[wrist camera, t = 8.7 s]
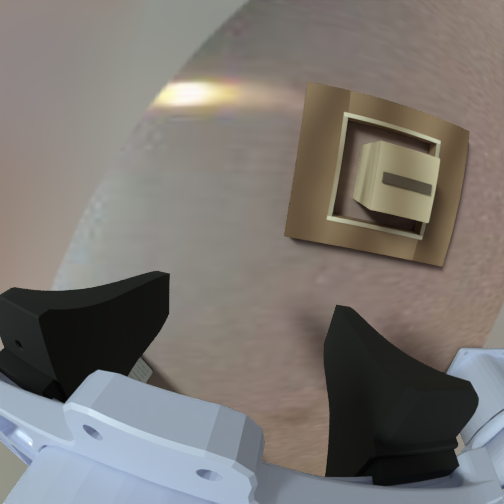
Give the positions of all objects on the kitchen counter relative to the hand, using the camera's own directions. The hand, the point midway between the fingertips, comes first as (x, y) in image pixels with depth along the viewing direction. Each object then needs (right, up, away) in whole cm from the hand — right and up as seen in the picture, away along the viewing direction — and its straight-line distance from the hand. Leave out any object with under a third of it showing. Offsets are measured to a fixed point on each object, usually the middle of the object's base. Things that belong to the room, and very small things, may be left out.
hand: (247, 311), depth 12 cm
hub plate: (+10, +8, +7) cm, 14 cm away
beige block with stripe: (+10, +8, +7) cm, 14 cm away
